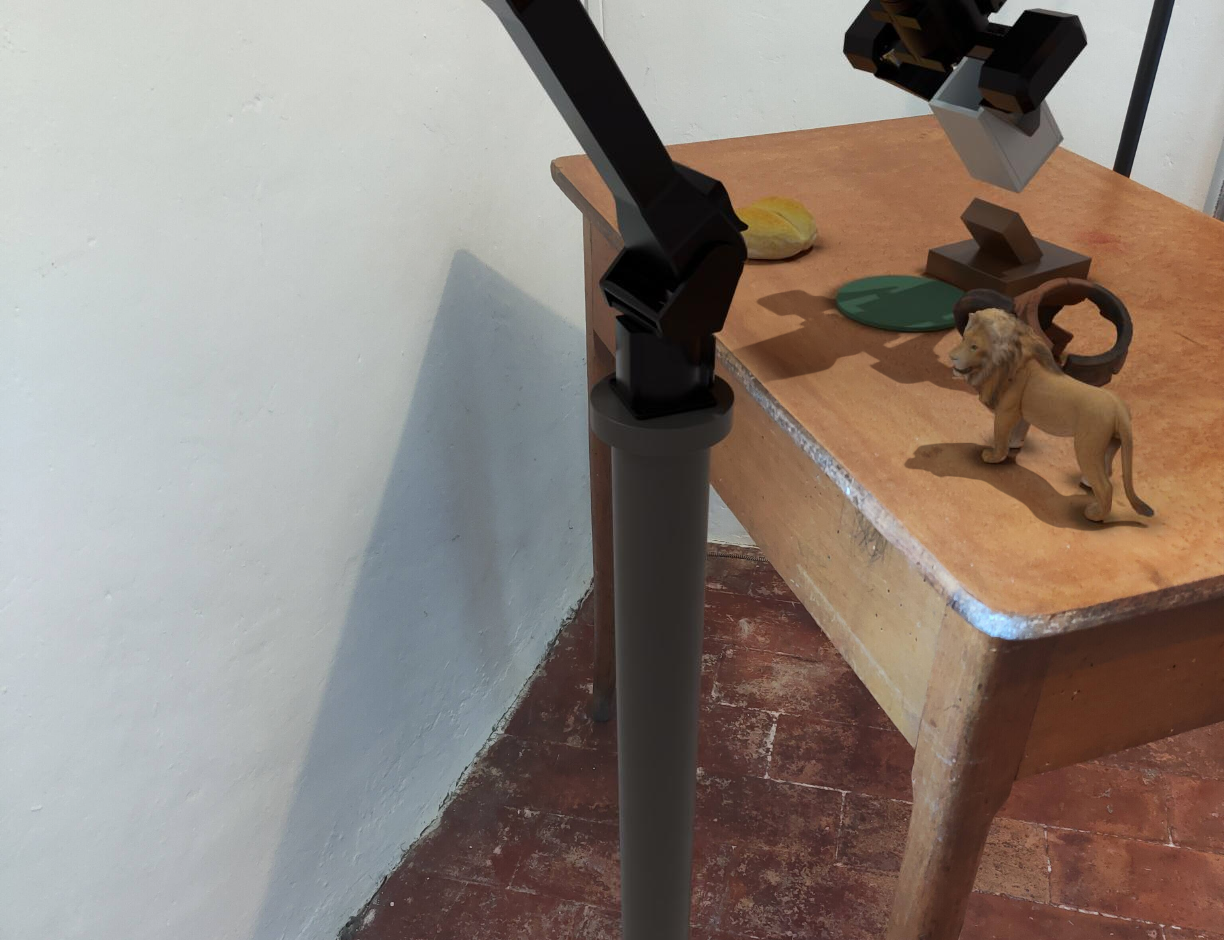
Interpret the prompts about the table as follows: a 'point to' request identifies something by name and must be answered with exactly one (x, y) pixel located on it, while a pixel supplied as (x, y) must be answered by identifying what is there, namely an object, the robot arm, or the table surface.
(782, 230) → the bread roll
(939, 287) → the coaster
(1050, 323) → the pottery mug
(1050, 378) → the lion figurine
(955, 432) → the table surface
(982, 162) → the grey storage bin
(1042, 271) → the tilted cube pedestal
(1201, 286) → the table surface
